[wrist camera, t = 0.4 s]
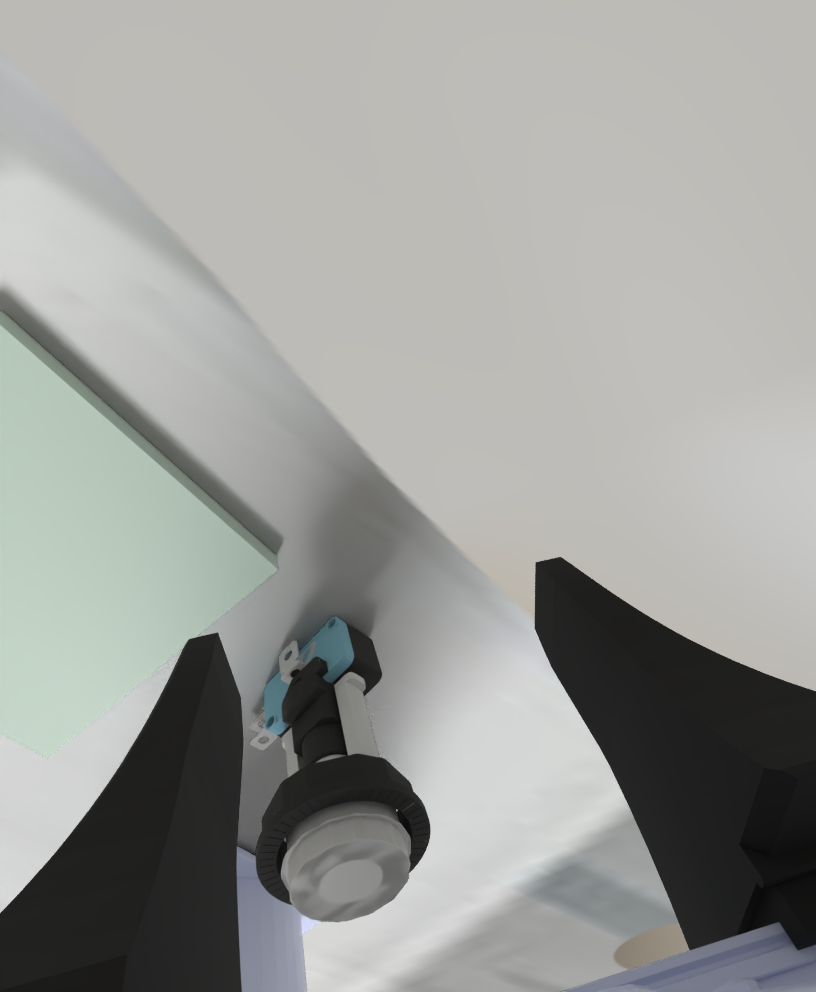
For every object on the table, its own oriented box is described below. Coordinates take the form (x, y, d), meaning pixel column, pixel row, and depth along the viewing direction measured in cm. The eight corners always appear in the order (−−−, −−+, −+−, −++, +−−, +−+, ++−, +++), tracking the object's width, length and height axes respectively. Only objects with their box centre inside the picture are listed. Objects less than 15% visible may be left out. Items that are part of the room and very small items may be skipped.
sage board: (53, 739, 25) (47, 758, 25) (-271, 559, 20) (-294, 576, 19) (276, 556, 24) (278, 569, 24) (2, 310, 19) (-10, 316, 18)
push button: (299, 744, 29) (327, 983, 20) (202, 694, 26) (186, 942, 18) (399, 646, 28) (474, 852, 19) (308, 585, 25) (346, 790, 17)
